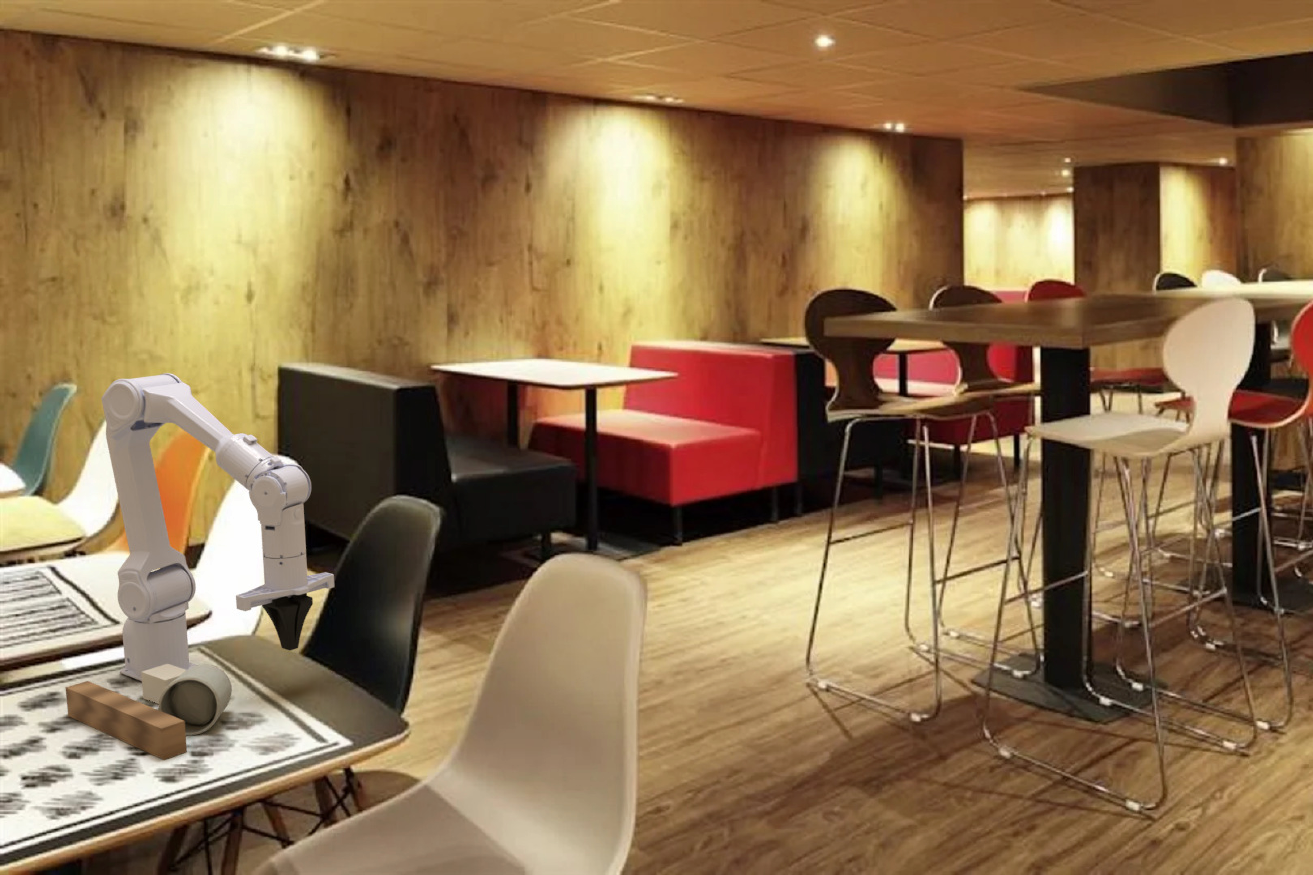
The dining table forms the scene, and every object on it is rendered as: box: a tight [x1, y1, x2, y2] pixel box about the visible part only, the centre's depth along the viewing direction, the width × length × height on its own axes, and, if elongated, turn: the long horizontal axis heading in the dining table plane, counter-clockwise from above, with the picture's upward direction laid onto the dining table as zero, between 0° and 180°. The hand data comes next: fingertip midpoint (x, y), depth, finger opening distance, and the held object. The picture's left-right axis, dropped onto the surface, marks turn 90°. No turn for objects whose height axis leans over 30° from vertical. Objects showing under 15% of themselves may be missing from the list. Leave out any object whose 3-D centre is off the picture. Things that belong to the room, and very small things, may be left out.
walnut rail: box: [65, 680, 188, 761], centre depth 150 cm, size 24×3×4 cm, turn 52°
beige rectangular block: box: [141, 664, 186, 705], centre depth 162 cm, size 6×4×4 cm, turn 54°
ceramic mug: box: [156, 663, 233, 737], centre depth 153 cm, size 11×8×8 cm
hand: (289, 648), depth 164 cm, fingers closed
